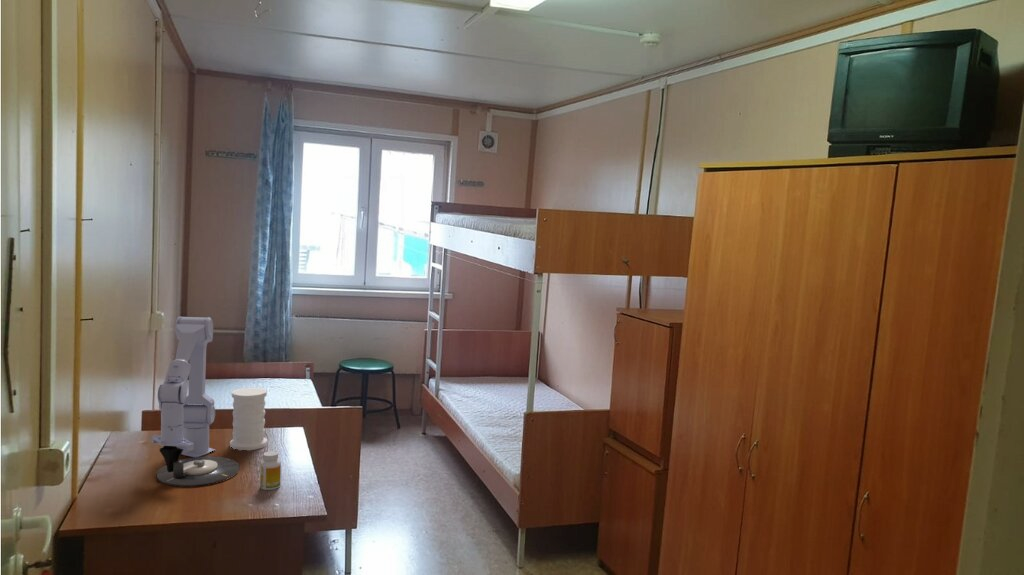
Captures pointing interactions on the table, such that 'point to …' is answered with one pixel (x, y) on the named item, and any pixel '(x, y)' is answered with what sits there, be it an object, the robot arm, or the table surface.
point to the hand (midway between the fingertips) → (172, 471)
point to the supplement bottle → (270, 471)
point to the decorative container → (248, 419)
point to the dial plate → (222, 472)
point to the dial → (193, 467)
